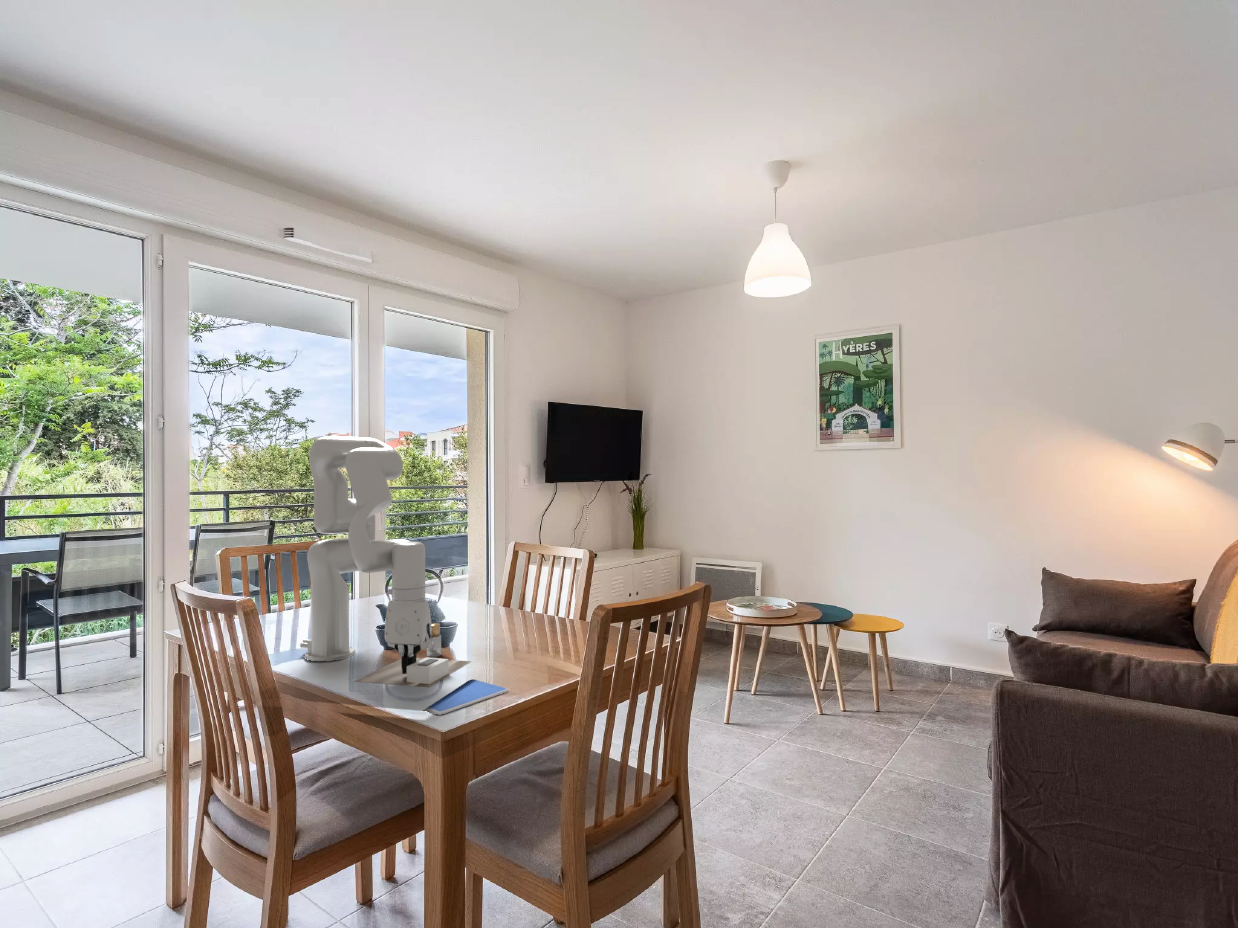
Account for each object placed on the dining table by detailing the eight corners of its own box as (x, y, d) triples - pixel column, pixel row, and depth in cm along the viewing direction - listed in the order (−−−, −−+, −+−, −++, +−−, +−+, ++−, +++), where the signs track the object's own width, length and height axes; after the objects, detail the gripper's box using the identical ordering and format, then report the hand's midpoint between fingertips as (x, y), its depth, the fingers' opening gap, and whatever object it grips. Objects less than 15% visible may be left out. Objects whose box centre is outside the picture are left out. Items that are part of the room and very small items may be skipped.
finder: (406, 681, 152) (406, 665, 152) (426, 671, 159) (426, 656, 159) (429, 683, 150) (429, 667, 150) (448, 673, 158) (448, 658, 158)
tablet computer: (473, 683, 157) (473, 677, 157) (510, 693, 149) (510, 687, 149) (402, 706, 142) (402, 700, 142) (440, 718, 134) (440, 712, 134)
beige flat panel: (354, 687, 152) (354, 681, 152) (404, 662, 173) (404, 656, 173) (428, 693, 148) (428, 686, 148) (471, 667, 168) (471, 661, 168)
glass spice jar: (424, 662, 173) (424, 625, 174) (431, 658, 177) (431, 622, 177) (436, 662, 172) (436, 626, 173) (443, 659, 176) (443, 623, 176)
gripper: (371, 596, 155) (371, 674, 155) (429, 598, 151) (429, 679, 151) (390, 590, 162) (390, 665, 162) (445, 592, 159) (445, 669, 158)
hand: (408, 672), depth 156 cm, fingers closed
